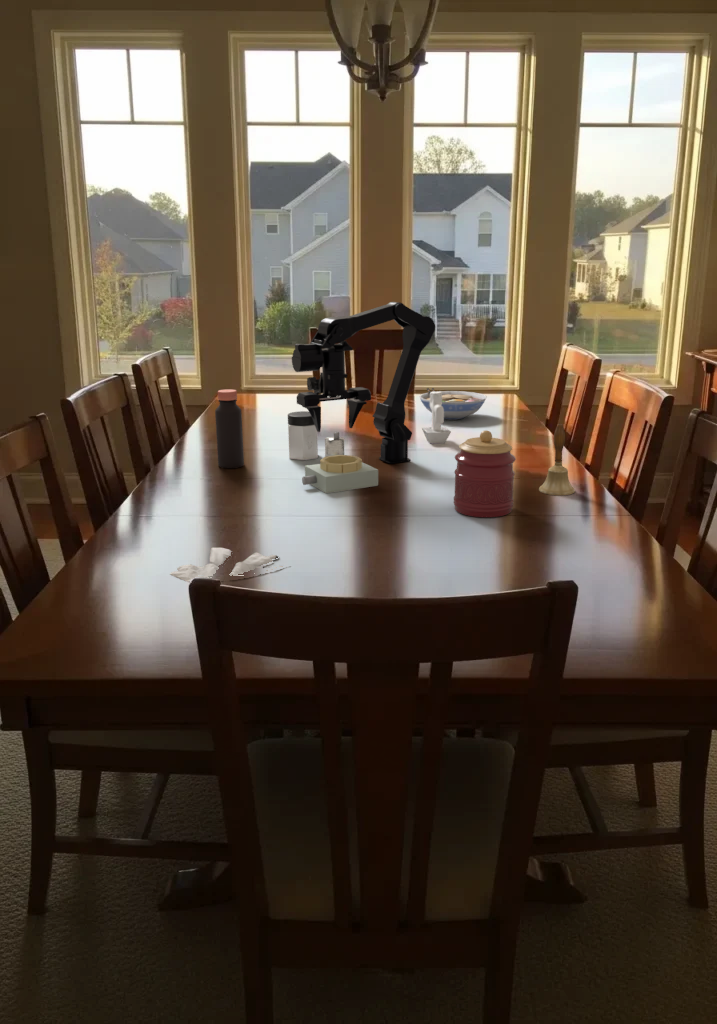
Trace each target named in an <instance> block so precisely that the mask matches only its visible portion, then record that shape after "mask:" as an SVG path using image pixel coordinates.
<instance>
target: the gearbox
mask: <svg viewBox="0 0 717 1024" xmlns="http://www.w3.org/2000/svg"><path fill="white" fill-rule="evenodd" d="M362 459H363V458H360V457H358V456H356V455H351V454H350V455H349V454H344V455H334V456H326V457H325V456H324V457H323V458H321V459H320V460H319V461H320V463H316V464H307V465H304V476H302V477H301V481H302V482H301V483H302V485H303V486H306V485H311V486H313V487H314V488H316V489H318V490H320V491H321V492H323V493H325V494H331V493H338V492H344V491H350V490H358V489H364V488H369V487H370V488H371V487H378V486H379V469H377V468H376V467H373V466H371V465H369V464H367V463H364V462H363V460H362Z"/></svg>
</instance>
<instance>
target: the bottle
mask: <svg viewBox="0 0 717 1024" xmlns="http://www.w3.org/2000/svg"><path fill="white" fill-rule="evenodd" d="M217 400H218V402H219V405H218V406H217V408H216V409H215V411H214V414H215V415H214V416H215V428H216V429H215V430H216V432H215V433H216V447H217V448H216V450H217V451H216V452H217V465H218V466H219V468H222V469H238V468H241V467H243V466H244V465H245V453H244V441H243V440H244V437H243V434H244V433H243V415H242V409H241V407H240V406H238V405H237V401H238V390H237V389H219V390H217Z"/></svg>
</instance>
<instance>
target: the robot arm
mask: <svg viewBox="0 0 717 1024" xmlns="http://www.w3.org/2000/svg"><path fill="white" fill-rule="evenodd" d="M390 321H394V322H395V323H396V324H397V325H399V326H400V327H402V328H403V330H402V335H401V336H402V344H403V347H402V350H401V353H400V357H399V360H398V363H397V366H396V369H395V372H394V375H393V378H392V382H391V384H390V385H391V386H390V388H389V391H388V394H387V397H386V399H385V400H384V401H383V402H382V403H381V402H377V403H376V406H375V411H374V412H373V415H372V417H373V421H372V422H373V426H374V428H375V429H376V430H377V432H378V434H379V436H380V437H381V439H382V440H381V444H380V456H379V457H378V459H379V460H380V461H383V462H385V463H387V464H399V463H405V462H406V463H407V462H410V461H411V458H409V457H408V454H409V453H408V447H409V445H408V442H409V441H410V440H411V438H412V435H413V432H412V431H411V430H410V429H409V428H408V426H406V425H405V420H406V409H405V408H406V407H405V402H406V400H407V397H408V394H409V390H410V387H411V385H412V384H411V383H412V382H413V377H414V375H415V372H416V368H417V365H418V362H419V359H420V356H421V353H422V351H423V350H424V349H425V348H426V347H427V346H428V344H429V343H430V342H431V340H432V338H433V336H434V334H435V332H436V324H435V322H434V320H433V318H431V317H430V316H428V315H427V316H426V315H422V314H420V313H419V312H417V311H415V310H413V309H412V308H409V307H408V306H407V305H405V304H404V303H403V302H400V301H399V302H397V301H390V302H388V303H387V304H384V305H383V304H382V305H381V306H377V307H375V308H372V309H368V310H365V311H362V312H358V313H355V314H352V315H345V316H332V317H325V318H323V319H321V321H320V323H319V325H318V328H317V329H318V330H317V331H316V333H315V335H314V336H313V337H312V340H311V341H310V342H309V343H295V344H294V349H293V352H292V356H291V364H292V368H293V370H294V371H295V373H302V372H315V371H319V370H320V369H321V368H322V370H321V372H320V374H319V378H318V379H317V377H316V376H311V377H309V376H308V377H307V378H306V387H307V390H308V391H306V392H305V391H304V392H298V393H297V396H296V404H297V405H300V406H301V407H302V408H305V409H307V410H308V412H309V413H310V414H311V417H312V419H313V422H314V424H315V427H316V430H317V433H320V432H321V429H322V407H321V406H320V405H319V404H320V403H321V402H322V403H323V402H331V401H340V400H342V401H343V400H346V401H347V404H348V427H349V429H353V427H354V426H355V423H356V420H357V418H358V416H359V414H360V412H361V410H362V408H363V406H364V405H367V404H368V401H372V392H371V391H370V389H369V388H365V387H363V386H359V387H358V386H357V387H349V388H348V389H346V379H347V378H348V373H346V366H345V365H346V364H345V363H346V361H345V360H346V359H345V358H346V357H345V356H346V355H345V352H348V351H353V350H354V348H353V346H351V345H350V344H349V343H348V342H347V340H348V339H350V338H351V337H353V336H354V335H355V334H356V333H358V332H360V331H362V330H365V329H369V328H372V327H374V326H377V325H381V324H384V323H387V322H390Z"/></svg>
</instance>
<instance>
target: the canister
mask: <svg viewBox="0 0 717 1024" xmlns="http://www.w3.org/2000/svg"><path fill="white" fill-rule="evenodd" d="M458 448H459V449H460V452H457V453H456V454H455V455H454V459H455V460H456V463H457V464H456V468H455V469H454V472H453V473H454V496H453V505H454V510H455V512H457V513H459V514H462V515H464V516H469V517H475V518H498V517H502V516H507V515H508V514H510V513H512V511H513V506H514V500H515V499H514V484H515V483H514V481H515V474H516V473H515V471H514V462H516V459H517V458H516V456H515V455H514V454H512V453H511V451H512V450H513V447H512V445H511V444H509V443H507V441H506V440H505V439H501V438H499V437H493V434H492V432H491V431H489V430H482V431H481V432H480V434H479V437H471V438H467V439H466V440H465V441H464V442H462V443H460V444H459V446H458Z"/></svg>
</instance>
